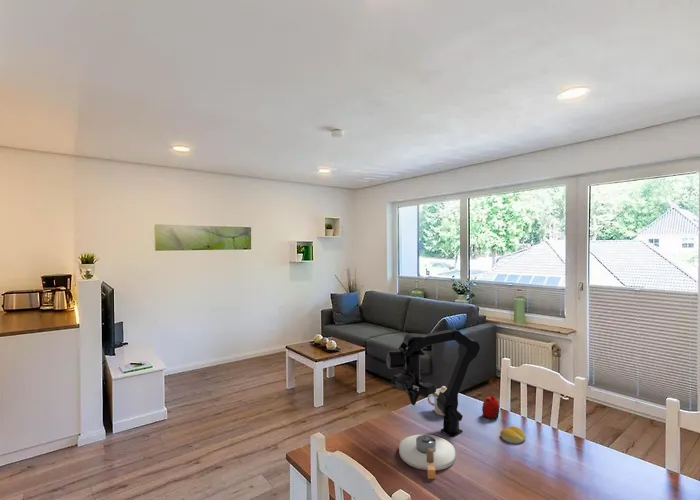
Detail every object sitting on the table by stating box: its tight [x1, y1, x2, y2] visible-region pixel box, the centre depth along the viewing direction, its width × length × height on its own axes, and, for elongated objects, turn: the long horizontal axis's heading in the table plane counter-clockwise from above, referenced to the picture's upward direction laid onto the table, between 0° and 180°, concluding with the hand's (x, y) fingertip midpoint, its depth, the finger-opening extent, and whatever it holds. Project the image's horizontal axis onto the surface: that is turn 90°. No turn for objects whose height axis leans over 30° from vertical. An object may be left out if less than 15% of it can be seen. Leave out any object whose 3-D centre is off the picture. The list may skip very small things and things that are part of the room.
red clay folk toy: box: [481, 384, 500, 420], centre depth 165 cm, size 8×7×15 cm
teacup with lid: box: [427, 385, 447, 417], centre depth 171 cm, size 12×9×12 cm
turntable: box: [398, 433, 456, 471], centre depth 136 cm, size 20×20×6 cm
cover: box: [416, 434, 436, 454], centre depth 136 cm, size 7×7×4 cm
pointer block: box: [426, 465, 437, 480], centre depth 124 cm, size 2×2×3 cm
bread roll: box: [500, 425, 526, 444], centre depth 147 cm, size 8×9×4 cm
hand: (413, 404), depth 149 cm, fingers closed
